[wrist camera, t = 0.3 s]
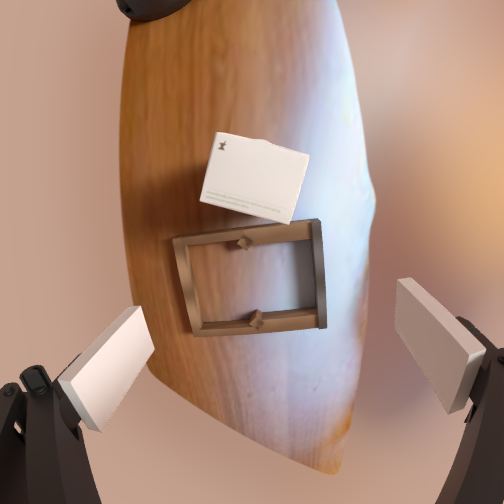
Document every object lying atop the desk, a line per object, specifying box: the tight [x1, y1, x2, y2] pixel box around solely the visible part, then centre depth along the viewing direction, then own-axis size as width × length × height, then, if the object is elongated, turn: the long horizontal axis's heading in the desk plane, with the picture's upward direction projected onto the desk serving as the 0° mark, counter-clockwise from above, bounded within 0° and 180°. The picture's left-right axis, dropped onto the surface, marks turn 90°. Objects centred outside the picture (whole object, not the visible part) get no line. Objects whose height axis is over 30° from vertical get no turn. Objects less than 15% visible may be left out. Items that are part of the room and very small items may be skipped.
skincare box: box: [200, 132, 309, 225], centre depth 30 cm, size 8×7×16 cm
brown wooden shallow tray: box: [172, 218, 327, 337], centre depth 40 cm, size 15×20×3 cm
